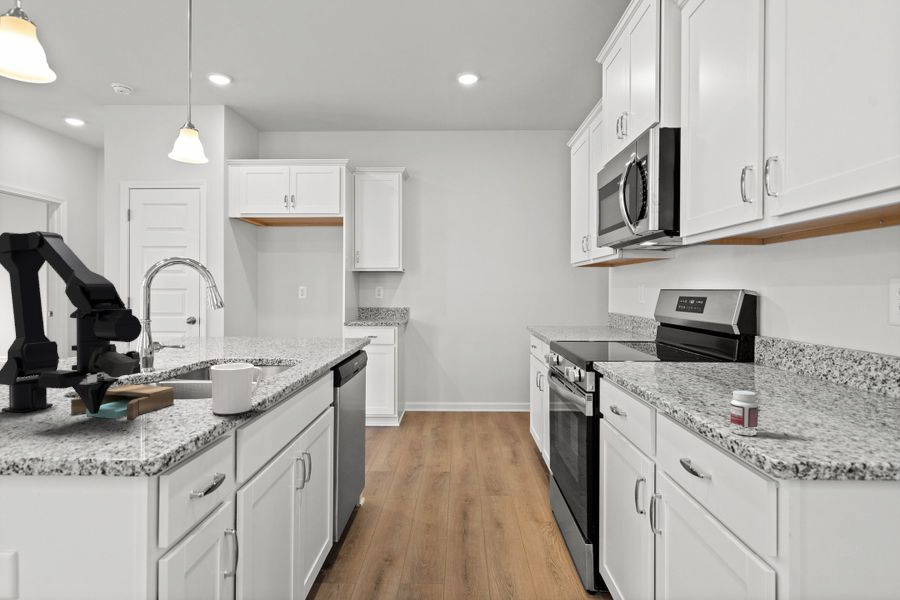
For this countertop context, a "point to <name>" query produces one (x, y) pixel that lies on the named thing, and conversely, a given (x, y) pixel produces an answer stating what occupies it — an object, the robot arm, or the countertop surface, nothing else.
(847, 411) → the countertop surface
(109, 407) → the panel
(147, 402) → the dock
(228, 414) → the mug
